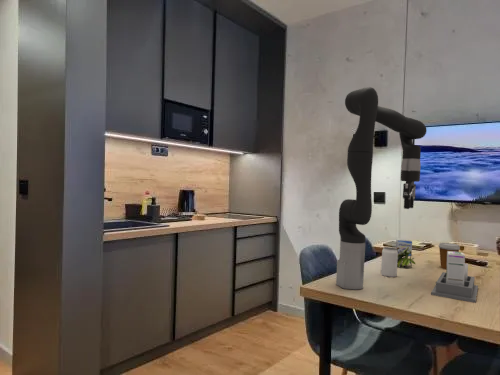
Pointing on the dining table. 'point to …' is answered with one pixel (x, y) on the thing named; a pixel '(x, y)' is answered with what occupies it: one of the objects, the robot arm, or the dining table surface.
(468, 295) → the housing
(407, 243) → the medicine box
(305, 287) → the dining table surface
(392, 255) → the can
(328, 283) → the dining table surface
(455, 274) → the syrup box
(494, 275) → the dining table surface
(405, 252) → the passion flower
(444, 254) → the disposable coffee cup
